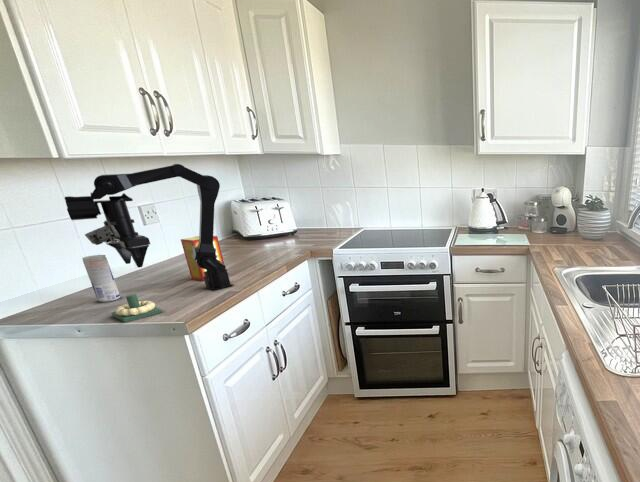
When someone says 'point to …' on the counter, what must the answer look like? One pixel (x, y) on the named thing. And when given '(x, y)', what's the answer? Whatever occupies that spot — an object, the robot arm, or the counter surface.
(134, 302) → the stand
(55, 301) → the counter surface
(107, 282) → the beverage can
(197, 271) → the baking soda box
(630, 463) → the counter surface
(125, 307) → the ring
